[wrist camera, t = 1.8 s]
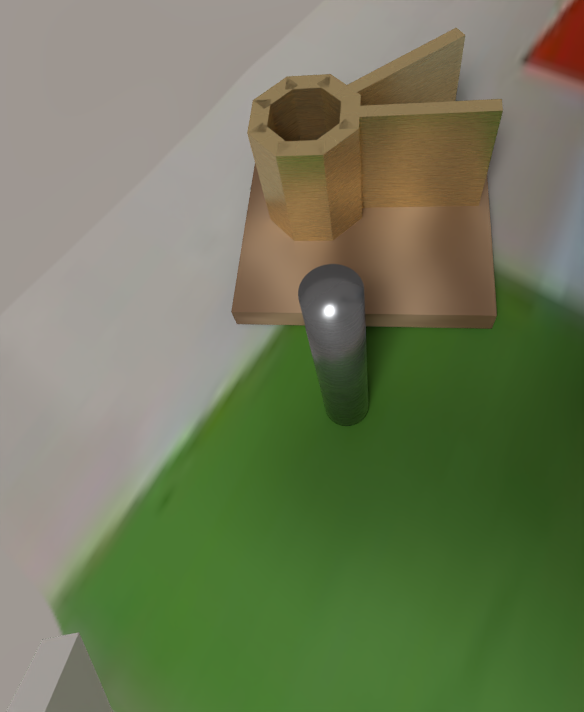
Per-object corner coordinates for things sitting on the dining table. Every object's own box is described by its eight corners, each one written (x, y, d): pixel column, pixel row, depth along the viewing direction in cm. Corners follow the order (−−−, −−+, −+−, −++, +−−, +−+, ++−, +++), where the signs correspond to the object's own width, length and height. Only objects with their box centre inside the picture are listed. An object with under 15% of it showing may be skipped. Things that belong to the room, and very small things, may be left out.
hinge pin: (369, 386, 31) (365, 263, 20) (367, 426, 30) (363, 321, 19) (326, 384, 31) (301, 264, 21) (323, 424, 30) (295, 320, 20)
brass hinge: (474, 128, 36) (494, 25, 30) (480, 239, 32) (506, 148, 26) (281, 135, 38) (263, 40, 32) (267, 241, 34) (243, 157, 28)
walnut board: (478, 123, 38) (482, 105, 37) (491, 328, 31) (496, 315, 30) (266, 132, 40) (262, 115, 39) (237, 324, 34) (231, 311, 32)
